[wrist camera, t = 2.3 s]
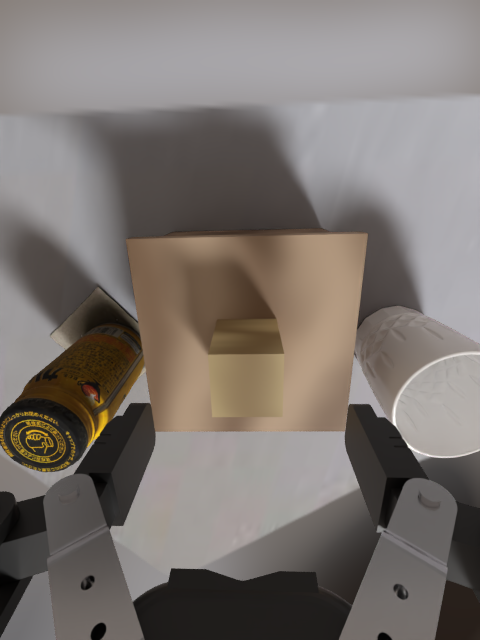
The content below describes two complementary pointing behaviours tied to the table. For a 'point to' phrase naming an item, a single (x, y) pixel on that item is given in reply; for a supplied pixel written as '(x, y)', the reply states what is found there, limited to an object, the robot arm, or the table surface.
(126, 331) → the condiment
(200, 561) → the table surface
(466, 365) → the white cup
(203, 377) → the lid
